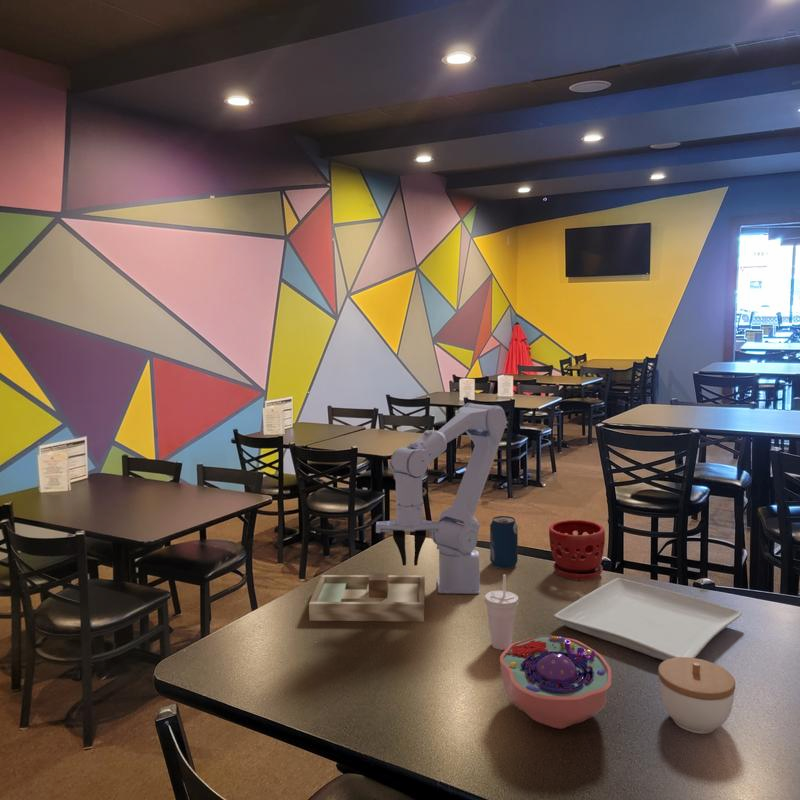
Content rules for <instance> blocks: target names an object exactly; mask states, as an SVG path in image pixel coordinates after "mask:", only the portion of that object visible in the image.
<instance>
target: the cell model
mask: <svg viewBox="0 0 800 800" xmlns="http://www.w3.org/2000/svg"><path fill="white" fill-rule="evenodd" d="M499 662H500V663H499V664H500V672H501V679H502V685H503V689H504V693H505V695H506V697H507V698H508V700H509V701H510V702H511V704H513V705H514V706H515V707H516V708H517V709H518V710H519V711H521V712H523V713H525V714H526V715H527V716H528V717H529V718H531V719H532V720H534V721H535V722H537V723H539V724H542V725H545V726H548V727H551V728H554V729H565V728H567V727H570V726H573V725H576V724H579V723H582V722H585V721H587V720H589V719H591V718H592V717H595V716H596V715H597V714H598V713H600V711H602V709H603V708H604V707H605V706H606V703H607V699H608V691H609V688H610V687H611V684H612V669H611V667H610V665H609V664H608V661H606V659H605V658H604V657H603V655H602V654H600V653H599V652H597V651H596V650H595V649H593V648H591V647H590V646H588V645H587V644H586V643H583V642H581V641H579V640H577V639H575V638H568V637H563V636H560V635H559V636H557V635H537V636H533V637H529V638H526V639H523V640H520V641H515V642H513V643H512V644H510V645H509V646H508V647H507V649H506V650H503V652H502V653H501V655H500V657H499Z"/></svg>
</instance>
